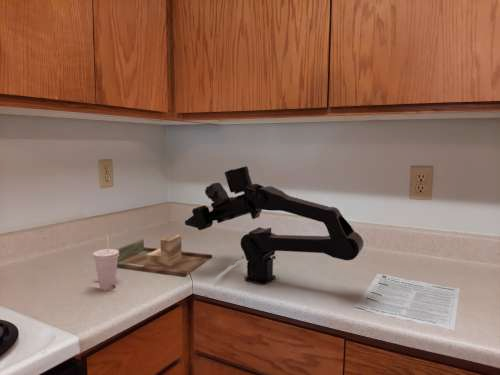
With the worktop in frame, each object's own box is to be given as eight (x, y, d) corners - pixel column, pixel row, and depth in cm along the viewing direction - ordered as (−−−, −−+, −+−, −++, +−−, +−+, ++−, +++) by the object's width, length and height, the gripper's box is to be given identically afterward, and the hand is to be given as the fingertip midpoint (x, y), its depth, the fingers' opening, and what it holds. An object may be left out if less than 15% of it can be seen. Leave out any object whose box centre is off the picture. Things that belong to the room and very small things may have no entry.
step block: (181, 260, 114) (181, 235, 113) (169, 267, 107) (169, 240, 106) (159, 257, 117) (158, 233, 116) (146, 264, 110) (145, 238, 109)
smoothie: (124, 288, 96) (122, 236, 94) (100, 294, 91) (97, 240, 90) (114, 281, 100) (112, 231, 98) (90, 287, 96) (88, 235, 94)
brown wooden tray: (212, 262, 117) (212, 245, 116) (184, 282, 100) (184, 262, 99) (143, 254, 125) (142, 238, 124) (107, 271, 108) (106, 253, 107)
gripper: (243, 177, 112) (204, 191, 119) (209, 183, 96) (166, 199, 103) (254, 211, 112) (214, 224, 119) (222, 223, 95) (178, 236, 102)
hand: (194, 220), depth 111 cm, fingers open, 9 cm apart
